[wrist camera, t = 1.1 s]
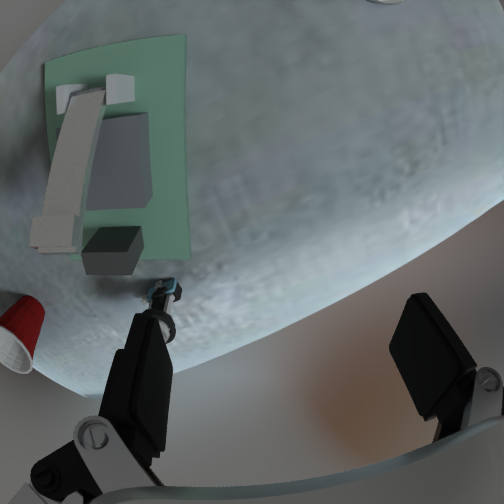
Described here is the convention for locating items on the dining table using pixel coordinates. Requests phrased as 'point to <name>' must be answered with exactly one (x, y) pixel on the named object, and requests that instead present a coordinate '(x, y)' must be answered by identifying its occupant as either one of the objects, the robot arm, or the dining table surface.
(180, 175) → the board
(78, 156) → the retention strap
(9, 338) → the plastic cup
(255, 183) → the dining table surface
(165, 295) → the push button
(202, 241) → the dining table surface
